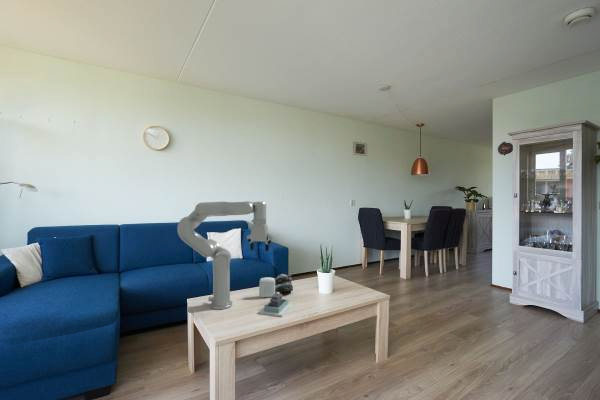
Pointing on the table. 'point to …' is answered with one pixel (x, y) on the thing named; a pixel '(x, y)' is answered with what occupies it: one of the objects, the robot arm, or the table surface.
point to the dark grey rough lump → (283, 283)
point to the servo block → (276, 300)
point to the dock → (276, 311)
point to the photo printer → (266, 287)
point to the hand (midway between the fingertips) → (259, 250)
